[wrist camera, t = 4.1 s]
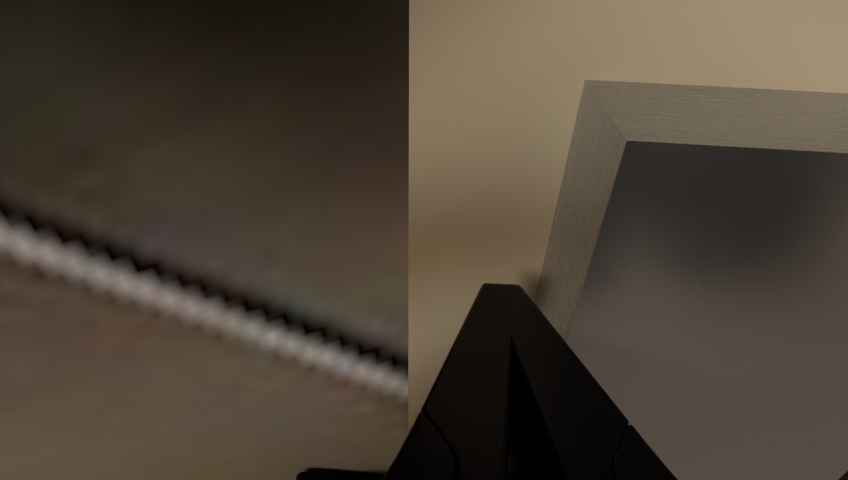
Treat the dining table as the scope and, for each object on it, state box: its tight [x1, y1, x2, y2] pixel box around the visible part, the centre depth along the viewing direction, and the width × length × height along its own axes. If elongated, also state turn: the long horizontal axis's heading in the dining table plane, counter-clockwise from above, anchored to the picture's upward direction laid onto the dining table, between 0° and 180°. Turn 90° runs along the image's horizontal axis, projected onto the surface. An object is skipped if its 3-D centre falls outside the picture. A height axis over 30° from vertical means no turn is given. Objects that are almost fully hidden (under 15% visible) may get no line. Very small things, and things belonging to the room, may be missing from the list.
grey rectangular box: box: [534, 80, 848, 480], centre depth 9 cm, size 8×6×2 cm
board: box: [408, 0, 848, 428], centre depth 9 cm, size 12×14×4 cm
